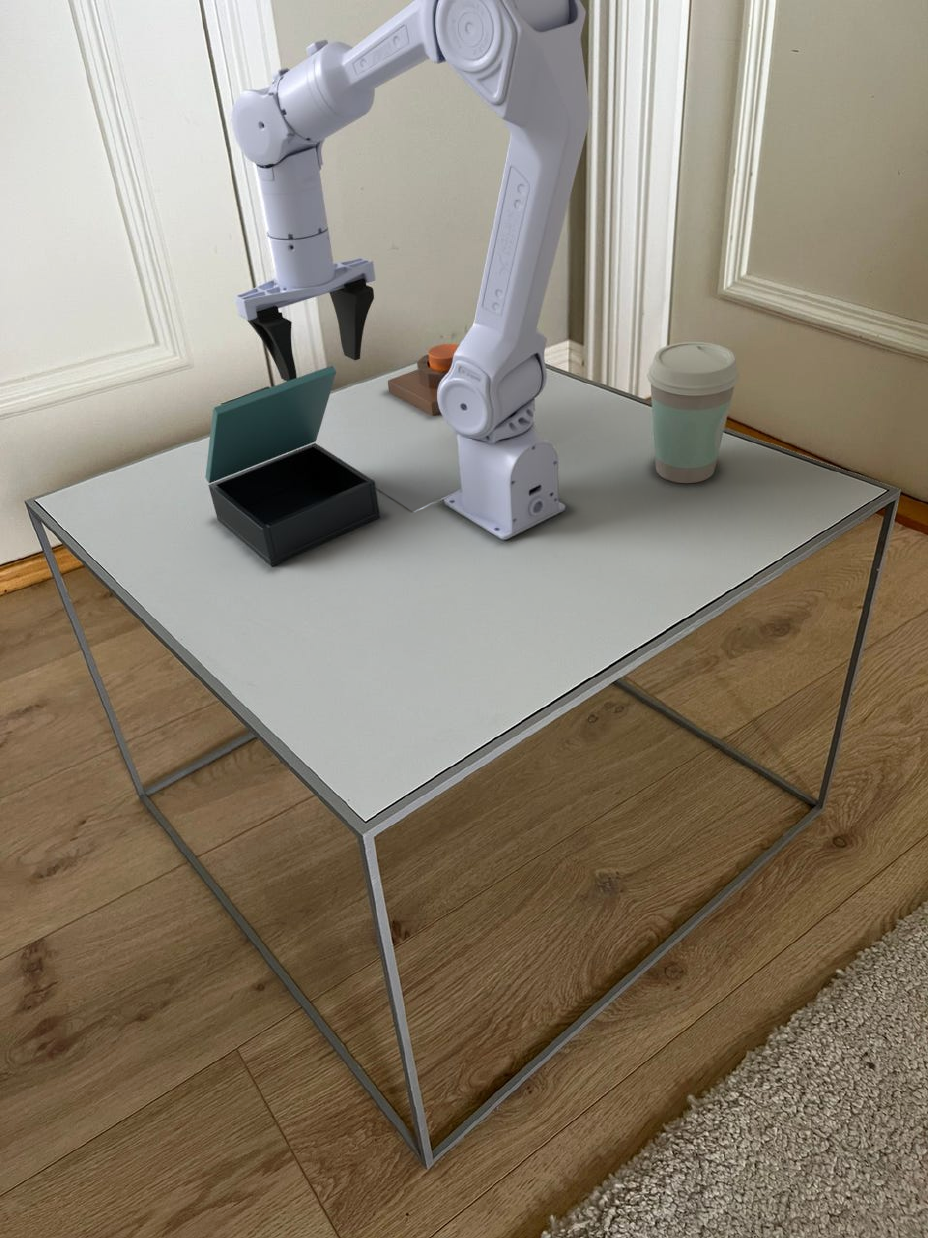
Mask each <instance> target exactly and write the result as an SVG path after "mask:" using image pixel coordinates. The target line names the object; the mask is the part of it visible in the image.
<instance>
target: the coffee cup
mask: <svg viewBox="0 0 928 1238" xmlns="http://www.w3.org/2000/svg"><path fill="white" fill-rule="evenodd" d="M739 372H740V369H739V367H738V365H737V360H736V356H735V354H734V352H732V350H730V349H728V347H725V346H722V345H719V344H717V343H711V342H706V341H705V342H704V341H682V342H677V343H672V344H668V345H666V346H664V347H662V348H660V349H658V350H657V351H656V352H655V353H654V357H653V360H652V362H651V363H650V365H649V366H648V372H647V375H646V377H647V380H648V382H649V383H650V393H651V394H650V398H651V399H650V400H651V414H652V415H651V416H652V429H653V430H652V431H653V442H654V443H653V445H654V459H655V461H654V462H655V470H656V473H657V474H658V475H659V476H660V477H661V478H663V479H665V480H666V481H669V482H673V483H678V484H694V483H699V482H703V481H705V480H707V479H709V478H710V477H712V476H713V475H714V473H715V469H716V465H717V461H718V457H719V453H720V448H721V444H722V440H723V436H724V432H725V428H726V424H727V418H728V415H729V411H730V406H731V402H732V399H733V394H734V389H735V386H736V385H737V384H738V382H739V380H740V374H739Z"/></svg>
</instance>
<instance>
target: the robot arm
mask: <svg viewBox="0 0 928 1238" xmlns="http://www.w3.org/2000/svg"><path fill="white" fill-rule="evenodd" d="M586 15H587V11H586V8H585V7H584V6H583V3H582V2H581V0H413V1H411V3H410V4H408V5H407V6H406V7H404V8H402V9H401V10H400V11H399V12H398V13H396V14H395V15H394V16H393V17H391V18H390V19H389V20H387V21H386V22H385V23H383V24H382V25H380V26H379V27H378V28H377V29H375V30H374V31H373V32H372V33H370V34H369V35H368V36H367V37H365V38H364V39H362V40H361V41H360V42H359V43H357V44H356V45H355V46H351V45H350V44H347V43H345V42H343V41H338V40H337V41H335V40H334V41H330V42H329V41H328V40H327V39H321V40H318V41H317V40H316V41H314V42H312V43H311V44H309V45H308V46H307V47H306V48H305V50H306V53H307V55H308V57H306V58H305V59H304V60H302V61H301V62H300V63H298V64H297V65H295V66H293V67H292V68H291V69H290V68H288V67H285V68H281V69H278V70H276V72H274V73H273V74H272V79H273V81H272V83H271V84H270V86H268V87H264V88H260V89H253V88H252V89H245V90H243V91H242V92H241V94H240V96H239V97H237V99H236V100H235V102H234V104H233V106H232V109H231V115H230V116H231V118H230V122H231V129H232V135H233V137H234V140H235V142H236V144H237V146H238V148H239V149H240V151H241V152H242V154H243V155H244V156H245V157H246V158H247V159H248V160H249V161H250V162H252V163H253V168H254V173H255V178H256V183H257V189H258V194H259V199H260V204H261V209H262V210H261V211H262V214H263V220H264V225H265V231H266V235H267V236H266V237H267V241H268V246H269V251H270V256H271V262H272V267H273V272H274V278H273V279H270V280H268V281H266V282H264V283H262V284H259V285H258V286H256V287H254V288H252V289H250V290H247V291H245V292H242V293H239V294H236V295H234V300H235V305H236V309H237V314H238V316H239V317H241V318H242V319H244V320H246V321H247V322H248V324H249V325H250V326H251V327H252V329H253V330H254V331H255V332H256V334H257V335H258V336H259V338H260V339H261V340H262V342H263V344H264V346H265V347H266V348H267V351H268V352H269V354H270V356H271V358H272V360H273V362H274V364H275V366H276V368H277V371H278V373H279V376H280V379H282V380H283V381H285V382H287V381H290V380H293V379H296V378H298V377H297V375H298V374H297V370H296V364H295V360H294V355H293V346H292V345H293V344H292V325H293V322H292V321H291V320H290V319H287V318H285V317H284V316H283V312H281V311H280V310H279V309H281V308H285V307H288V306H291V305H293V304H297V303H301V302H303V301H304V302H305V301H307V300H310V299H314V298H317V297H319V296H322V295H325V294H329V296H330V298H331V303H332V305H333V308H334V312H335V315H336V319H337V323H338V324H337V325H338V329H339V336H340V343H341V344H340V345H341V349H342V351H343V354H344V356H345V357H347V358H349V359H351V360H353V361H359V360H360V359H361V352H362V343H363V336H364V330H365V324H366V321H367V318H368V315H369V311H370V309H371V306H372V304H373V302H374V299H375V291H374V288H373V287H372V286H370V285H367V284H368V283H369V284H370V283H372V282H375V281H376V272H375V265H374V261H373V260H371V259H368V258H365V257H359V258H355V259H350V260H345V261H340V262H334V258H333V251H332V246H331V244H332V243H331V238H330V231H329V225H328V224H329V223H328V219H327V212H326V205H325V200H324V199H325V198H324V192H323V186H322V180H321V179H322V178H321V173H320V171H321V170H322V166H323V164H324V162H323V155H322V149H323V144H324V142H325V140H326V139H327V138H329V137H330V136H332V135H333V134H335V133H337V132H339V131H340V130H342V129H344V128H345V127H347V126H349V125H351V124H353V123H354V122H356V121H357V120H359V119H361V118H362V117H364V116H366V115H367V114H368V113H369V112H371V109H372V108H373V105H374V102H375V101H374V100H375V96H376V95H375V93H376V89H377V88H378V87H380V86H382V85H384V84H386V83H387V82H389V81H391V80H393V79H395V78H396V77H398V76H400V75H402V74H404V73H406V72H408V71H410V70H412V69H413V68H416V67H417V66H419V65H421V64H422V63H424V62H426V61H427V60H431V61H432V62H433V64H437V65H439V64H442V63H443V64H444V63H447V64H448V66H449V67H450V68H451V69H452V70H453V72H454V73H456V74H457V75H458V77H459V78H461V80H463V82H464V83H465V84H467V86H468V87H469V88H470V89H471V90H473V92H474V93H476V95H477V96H478V97H480V99H481V100H483V102H484V103H485V104H487V106H488V107H489V108H490V109H492V111H493V112H494V113H495V114H496V115H497V116H498V117H499V118H501V120H502V121H503V122H504V124H505V126H506V128H507V129H508V131H509V133H510V139H509V142H508V148H507V153H506V158H505V163H504V167H503V174H502V179H501V184H500V189H499V193H498V199H497V203H496V208H495V213H494V219H493V224H492V229H491V234H490V240H489V244H488V248H487V254H486V259H485V264H484V269H483V273H482V274H483V275H482V279H481V283H480V290H479V294H478V300H477V304H476V310H475V314H474V320H473V324H471V326H470V328H469V330H468V332H467V333H466V335H465V336H464V338H463V339H462V340H461V342H460V344H458V345H459V347H458V349H457V350H456V352H455V354H454V357H453V362H452V366H451V368H450V371H449V372H448V373H447V374H446V375H445V376H444V378H443V379H442V380H441V382H440V384H439V386H438V391H437V401H438V406H439V409H440V412H441V413H440V414H441V416H442V419H444V421H445V422H446V424H447V425H448V426H449V427H450V428H451V429H452V433H453V434H454V435H456V439H457V452H458V453H457V454H458V463H459V464H458V465H459V475H460V476H459V477H460V489H461V491H458V492H456V493H454V494H452V495H450V496H447V497H445V498H444V502H443V503H444V505H445V506H447V507H448V508H450V509H452V510H454V511H455V512H456V513H458V514H459V515H462V516H463V517H465V518H467V519H468V520H470V521H471V522H473V523H474V524H476V525H478V526H480V528H483V529H484V530H485V531H487V532H489V533H491V534H492V535H494V536H495V537H497V538H498V539H500V540H503V541H504V540H505V541H506V540H509V539H511V538H513V537H514V536H517V535H518V534H521V533H523V532H525V531H526V530H528V529H530V528H532V527H534V526H537V525H539V524H540V523H542V522H544V521H546V520H548V519H550V518H552V517H555V516H556V515H559V513H560V514H561V513H562V512H564V511H565V510H566V504H564V503H562V502H560V500H559V456H558V453H557V450H556V449H555V447H554V446H553V445H552V444H551V443H550V442H548V441H547V440H546V439H545V438H544V437H543V436H542V434H540V432H539V430H538V429H537V427H536V424H535V419H534V412H535V411H536V398H538V396H539V395H541V393H542V392H543V391H544V389H545V387H546V384H547V377H548V373H547V371H548V370H547V366H546V361H545V351H546V346H547V344H548V343H547V342H548V338H547V336H545V334H544V333H543V332H542V331H541V330H540V329H539V328H538V325H539V321H540V317H541V313H542V309H543V305H544V301H545V298H546V293H547V290H548V285H549V281H550V278H551V274H552V269H553V266H554V261H555V258H556V253H557V250H558V246H559V241H560V237H561V234H562V230H563V226H564V222H565V218H566V214H567V210H568V207H569V206H568V205H569V202H570V198H571V195H572V191H573V186H574V184H575V183H574V182H575V178H576V175H577V172H578V168H579V163H580V159H581V155H582V151H583V147H584V143H585V139H586V136H587V132H588V128H589V122H590V113H591V111H590V101H589V94H588V86H587V80H586V78H587V77H586V70H585V64H584V63H585V62H584V56H583V48H582V41H581V38H582V37H581V36H582V32H583V27H584V24H585V19H586Z"/></svg>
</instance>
